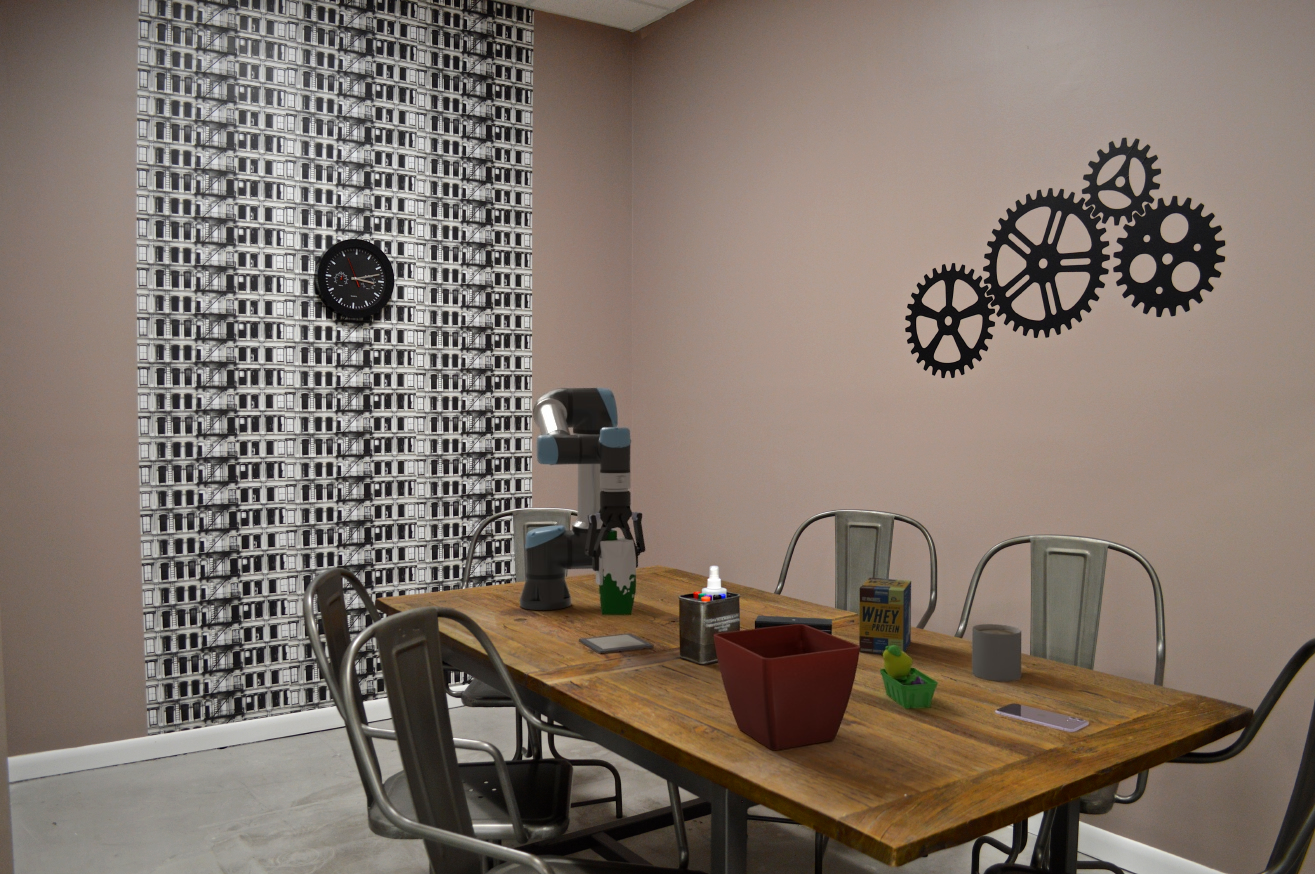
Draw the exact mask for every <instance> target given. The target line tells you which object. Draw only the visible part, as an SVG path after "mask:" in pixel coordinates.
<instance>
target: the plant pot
mask: <svg viewBox="0 0 1315 874" xmlns="http://www.w3.org/2000/svg"><path fill="white" fill-rule="evenodd" d="M713 639H714V640H713V641H714V647H715V652H716V653H715V654H716V657H717V663H718V667H719V668H718V669H719V671H720V672H719V673H720V676H721V680H722V683H723V687H724V691H725V693H726V696H727V701H728V704H729V706H730V710H731V712H732V715H733V718H734V721H735V723H736V726H737V728H738V729H739V730H740V731H741V732H744V734H746V735H747V736H749V737H751V738H752V739H754V741H755V740H756V741H757V742H758V743H760V744H762V745H763V746H765V747H766V748H768V749H770V750H771V751H772V750H773V751H778V750H779V751H780V750H787V749H791V748H795V747H797V748H798V747H801V746H807V745H812V744H813V745H814V744H818V743H824V742H829V741H834V740H835V738H836V736H837V733H838V732H839V730H840V726H841V725H842V722H843V719H844V716H845V713H846V712H847V707H848V705H849V703H850V702H849V701H850V698H851V695H852V690H853V686H854V684H855V683H854V682H855V678H856V675H857V674H856V673H857V669H858V662H859V659H860V653H861V652H860V646H859V644H858V643H857V644H856V643H854V642H851V641H848V640H846V639H843V638H841V637H837V636H835V635H833V634H830V633H828V632H826V631H823V630H820V629H817V628H814V627H812V626H809V625H807V624H802V623H797V624H796V623H794V624H788V625H787V624H785V625H778V626H768V627H761V628H754V629H753V628H751V629H743V630H734V631H724V632H716V633H714V634H713Z"/></svg>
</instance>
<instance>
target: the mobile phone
mask: <svg viewBox="0 0 1315 874" xmlns="http://www.w3.org/2000/svg"><path fill="white" fill-rule="evenodd" d="M994 713H995V714H997V715H1000V716H1005V717H1007V718H1008V717H1009V718H1012V719H1017V720H1020V721H1025V722H1029V723H1033V724H1036V725H1040V726H1042V727H1043V726H1045V727H1047V728H1050V729H1051V728H1052V729H1056V730H1060V731H1063V732H1069V733H1071V732H1077V731H1078V730H1081V729H1083V728H1085V727H1087V726H1089V721H1088V720H1086V719H1084V718H1078V717H1075V716H1070V715H1066V714H1061V713H1057V712H1054V711H1049V710H1045V709H1040V708H1037V707H1032V706H1028V705H1025V704H1019V703H1012V702H1011V703H1009V704H1006V705H1004V706H1001V707H999V708H996V709H995V711H994Z"/></svg>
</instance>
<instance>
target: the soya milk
mask: <svg viewBox="0 0 1315 874" xmlns="http://www.w3.org/2000/svg"><path fill="white" fill-rule="evenodd" d="M633 539H634V540H635V538H634V537H633ZM600 547H601V554H600V558H603V585H598V592H599V593H598V595H599V602H600V609H601V610H600V611H601V615H602V616H632V612H633V607H634V602H635V598H636V593H637V568H636V555H635V548H634V542H633V540H628V539H625V537H624V536H623V537H622V536H618V531H617V530H615V529H614V530H611V531H610V532H609V534H608V536H607V539H606V541H601V542H600Z"/></svg>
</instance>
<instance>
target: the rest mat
mask: <svg viewBox="0 0 1315 874" xmlns="http://www.w3.org/2000/svg"><path fill="white" fill-rule="evenodd" d="M578 642H579V643H581V644H583V645H584V646H586V647H587V648H589V649H591V650H592V651H594V652H596V653H597V652H598V653H597V654H599V655H602V654H601V653H605V654H611V652H613V653H619V651H621V652H627V651H628V650H630V651H635V649H638V650H644V649H643V648H646V649H653V647H654V644H652V643H650V642H648V641H647V640H644V639H642V638H640V637H639V636H636V635H634V634H633V633H619V634H612V635H611V634H610V635H609V634H608V635H602V636H592V637H583V638H578ZM628 652H629V651H628Z"/></svg>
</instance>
